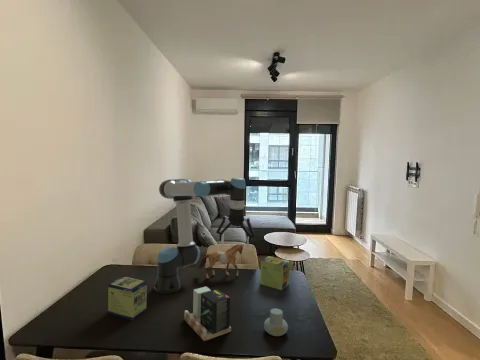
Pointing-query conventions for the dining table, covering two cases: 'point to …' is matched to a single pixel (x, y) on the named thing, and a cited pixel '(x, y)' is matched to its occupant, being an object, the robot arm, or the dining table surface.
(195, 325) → the pale wooden board
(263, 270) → the protein box
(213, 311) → the tampon box
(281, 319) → the air freshener
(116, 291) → the protein box
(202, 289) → the sage carton
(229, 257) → the horse figurine
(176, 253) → the robot arm
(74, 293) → the dining table surface
